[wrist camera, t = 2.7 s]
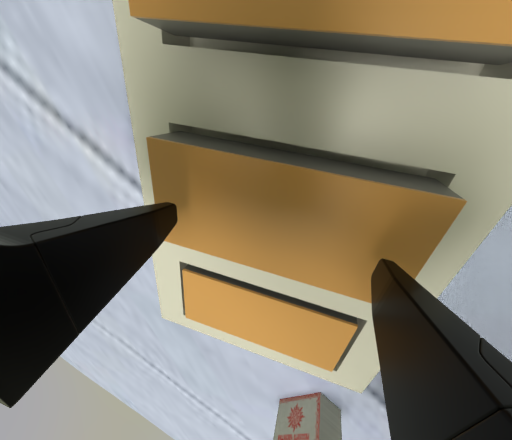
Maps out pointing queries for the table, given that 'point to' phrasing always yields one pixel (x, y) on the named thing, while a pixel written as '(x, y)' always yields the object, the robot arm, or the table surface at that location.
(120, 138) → the table surface
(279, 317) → the orange cabinet drawer
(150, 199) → the cream board with panels
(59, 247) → the robot arm
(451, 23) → the switch
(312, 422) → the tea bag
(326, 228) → the orange drawer
